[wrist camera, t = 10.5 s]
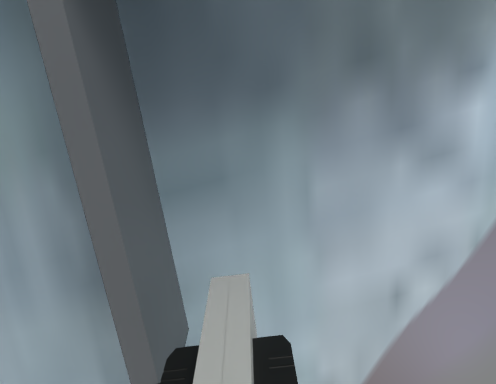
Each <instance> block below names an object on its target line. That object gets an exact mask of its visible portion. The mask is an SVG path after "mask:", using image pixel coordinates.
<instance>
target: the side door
mask: <svg viewBox="0 0 496 384" xmlns="http://www.w3.org/2000/svg"><path fill="white" fill-rule="evenodd" d="M27 3H28V7H29V10H30V14H31V18H32V21H33V25H34V29H35V32H36V36H37V40H38V43H39V47H40V51H41V54H42V58H43V62H44V66H45V69H46V73H47V77H48V80H49V84H50V88H51V91H52V95H53V99H54V102H55V106H56V110H57V113H58V117H59V121H60V125H61V128H62V132H63V136H64V139H65V143H66V147H67V150H68V154H69V158H70V161H71V165H72V169H73V172H74V176H75V180H76V183H77V187H78V191H79V195H80V198H81V202H82V206H83V209H84V213H85V217H86V220H87V224H88V228H89V231H90V235H91V239H92V242H93V246H94V250H95V253H96V257H97V261H98V265H99V268H100V272H101V276H102V279H103V283H104V287H105V290H106V294H107V298H108V301H109V305H110V309H111V312H112V316H113V320H114V323H115V327H116V331H117V335H118V338H119V342H120V346H121V349H122V353H123V357H124V360H125V364H126V368H127V371H128V375H129V379H130V382H131V384H158V383H160V382H161V377H162V374H163V373H164V367H165V363H166V360H167V358H168V357H169V356H170V354H171V353H172V352H173V351H174V350H175V349H176V348H181V347H185V344H186V339H187V335H188V330H189V328H188V323H187V319H186V314H185V310H184V305H183V301H182V296H181V292H180V287H179V283H178V278H177V274H176V269H175V265H174V260H173V256H172V251H171V247H170V242H169V238H168V233H167V229H166V224H165V220H164V215H163V211H162V206H161V202H160V197H159V193H158V188H157V184H156V179H155V175H154V170H153V166H152V161H151V157H150V152H149V148H148V143H147V139H146V134H145V130H144V125H143V121H142V116H141V112H140V107H139V103H138V98H137V94H136V89H135V85H134V80H133V76H132V71H131V67H130V62H129V58H128V53H127V49H126V44H125V40H124V35H123V31H122V26H121V22H120V17H119V13H118V8H117V4H116V0H27Z"/></svg>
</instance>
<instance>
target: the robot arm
mask: <svg viewBox="0 0 496 384" xmlns="http://www.w3.org/2000/svg"><path fill="white" fill-rule="evenodd" d="M158 384H298V382H297V376H296V371H295V366H294V360H293V354H292V348H291V344H290V343H289V341H288V340H287V339H286V338H285V337H284V336H283V335H278V336H269V337H260V338H257V332H256V324H255V317H254V309H253V301H252V294H251V286H250V278H249V273H248V274H239V275H231V276H222V277H213V278H211V281H210V287H209V293H208V299H207V304H206V310H205V316H204V322H203V327H202V333H201V339H200V345H199V346H190V347H181V348H176V349H175V350H174V351H173V352H172V353H171V354H170V356H169V357H168V358H167V360H166V363H165V367H164V373H163V374H162V377H161V382H160V383H158Z"/></svg>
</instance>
